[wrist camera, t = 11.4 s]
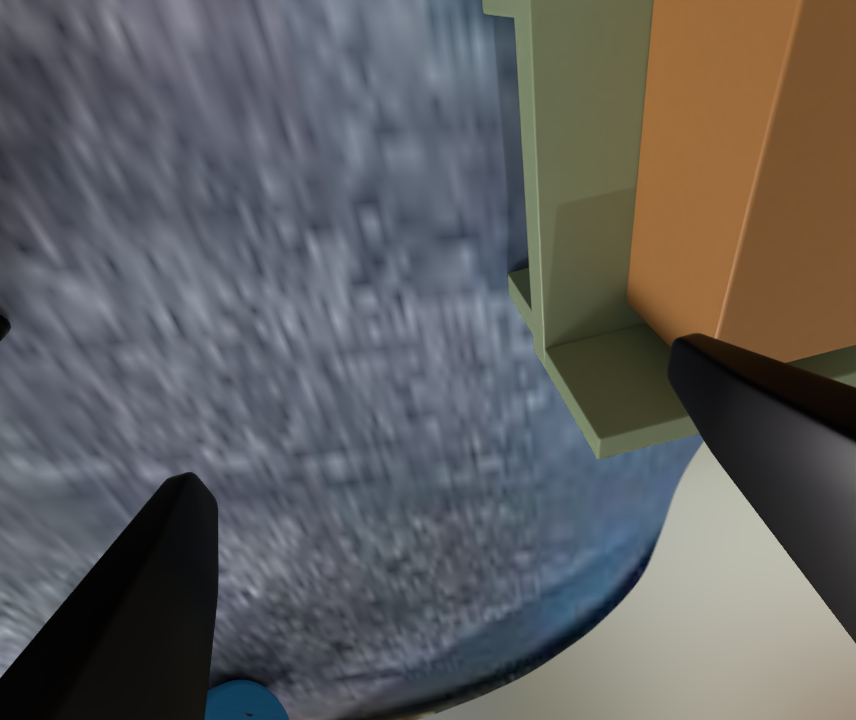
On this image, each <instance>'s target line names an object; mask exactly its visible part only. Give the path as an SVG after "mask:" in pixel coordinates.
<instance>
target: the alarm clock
mask: <svg viewBox="0 0 856 720" xmlns="http://www.w3.org/2000/svg"><path fill="white" fill-rule="evenodd" d="M205 720H289V717H288V715H287V713H286V711H285V709H284V708H283V706H282V705H281V703H280V702H279V700H278V699H277V698H276V697H275V696H274V694H272V693H271V692H270V691H269V690H268V689H267V688H265V687H264V686H262V685H260V684H258V683H256V682H253V681H249V680H233V681H229V682H226V683H223V684H221V685H219V686H216V687H214V688H212V689H210V690H208V693H207V702H206V711H205Z"/></svg>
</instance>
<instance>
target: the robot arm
mask: <svg viewBox="0 0 856 720" xmlns="http://www.w3.org/2000/svg"><path fill="white" fill-rule="evenodd" d="M10 328H11V326H10V323H9V322H8V320H7V319H6V318H4V317H3V316H2V315H0V341H1V340H2V339H3V338H4V337H5V335H6V334H7V333H8V332H9V331H10ZM667 376H668V380H669V382H670V384H671V386H672V388H673V389H674V391H675V393H676V395H677V396H678V398H679V400H680V401H681V403H682V405H683V406H684V408H685V410H686V411H687V413H688V415H689V416H690V418H691V420H692V421H693V423H694V425H695V426H696V428H697V430H698V431H699V433H700V435H701V436H702V438H703V440H704V441H705V443H706V444H707V446H708V448H709V449H710V450H711V452H712V454H713V455H714V456H715V458H716V459H717V460H718V462H719V463H720V464H721V466H722V467H723V468H724V470H725V471H726V472H727V474H728V475H729V476H730V478H731V479H732V480H733V482H734V483H735V484H736V486H737V487H738V488H739V490H740V491H741V492H742V493H743V495H744V496H745V497H746V499H747V500H748V501H749V503H750V504H751V505H752V507H753V508H754V509H755V511H756V512H757V513H758V515H759V516H760V517H761V519H762V520H763V521H764V523H765V524H766V525H767V527H768V528H769V529H770V530H771V532H772V533H773V535H775V537H776V538H777V540H778V541H779V542H780V544H781V545H782V546H783V548H784V549H785V550H786V551H787V553H788V554H789V556H790V557H791V558H792V560H793V561H794V562H795V564H796V565H797V566H798V568H799V569H800V570H801V572H802V573H803V574H804V575H805V577H806V578H807V579H808V581H809V582H810V583H811V585H812V586H813V587H814V589H815V590H816V591H817V593H818V594H819V595H820V596H821V598H822V599H823V600H824V602H825V603H826V605H827V606H828V607H829V609H830V610H831V611H832V613H833V614H834V615H835V617H836V618H837V619H838V620H839V622H840V623H841V624H842V626H843V627H844V628H845V630H846V631H847V632H848V634H849V635H850V636H851V637H852V639H853V640H854V642H855V643H856V387H853V386H850V385H847V384H845V383H842V382H839V381H836V380H833V379H830V378H827V377H824V376H822V375H819V374H816V373H813V372H810V371H807V370H804V369H801V368H799V367H796V366H793V365H790V364H787V363H784V362H781V361H779V360H776V359H773V358H770V357H767V356H764V355H761V354H758V353H756V352H753V351H750V350H747V349H744V348H741V347H738V346H735V345H733V344H730V343H727V342H724V341H721V340H718V339H715V338H712V337H710V336H707V335H704V334H701V333H692V334H688V335H685V336H681V337H678V338H676V339H675V340H674V341H673V342H672V346H671V351H670V357H669V363H668V369H667ZM218 577H219V572H218V505H217V502H216V499H215V497H214V496H213V495H212V493H211V492H210V491H209V490H208V488H207V487H206V486H205V485H204V484H203V482H202V481H201V480H200V479H199V478H198V476H197V475H196V474H194V473H192V472H187V473H183V474H180V475H176V476H172V477H170V478H168V479H167V480H166V481H165V482H164V483H163V484H162V485H161V486H160V487H159V489H158V490H157V491H156V492H155V493H154V495H153V496H152V497H151V498H150V499H149V501H148V502H147V503H146V504H145V505H144V507H143V508H142V509H141V510H140V511H139V513H138V514H137V515H136V516H135V517H134V519H133V520H132V521H131V522H130V523H129V525H128V526H127V527H126V528H125V529H124V531H123V532H122V533H121V534H120V535H119V537H118V538H117V539H116V540H115V541H114V543H113V544H112V545H111V546H110V547H109V549H108V550H107V551H106V552H105V553H104V555H103V556H102V557H101V558H100V559H99V561H98V562H97V563H96V564H95V565H94V567H93V568H92V569H91V570H90V571H89V573H88V574H87V575H86V576H85V577H84V579H83V580H82V581H81V582H80V583H79V585H78V586H77V587H76V588H75V589H74V590H73V592H72V593H71V594H70V595H69V596H68V598H67V599H66V600H65V601H64V602H63V604H62V605H61V606H60V607H59V608H58V610H57V611H56V612H55V613H54V614H53V616H52V617H51V618H50V619H49V620H48V622H47V623H46V624H45V625H44V626H43V628H42V629H41V630H40V631H39V632H38V634H37V635H36V636H35V637H34V638H33V640H32V641H31V642H30V643H29V644H28V646H27V647H26V648H25V649H24V650H23V652H22V653H21V654H20V655H19V656H18V658H17V659H16V660H15V661H14V662H13V664H12V665H11V666H10V667H9V668H8V670H7V671H6V672H5V673H4V674H3V675H2V677H1V678H0V720H205V711H206V702H207V693H208V683H209V674H210V665H211V655H212V646H213V637H214V627H215V618H216V609H217V598H218Z"/></svg>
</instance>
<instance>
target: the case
mask: <svg viewBox="0 0 856 720" xmlns="http://www.w3.org/2000/svg"><path fill="white" fill-rule="evenodd" d="M626 301H627V303H628V304H629V305H630V306H631V307H632V308H633V309H634V310H635V311H636V312H637V313H638V314H639V315H640V316H641V317H642V318H643V319H644V321H645V322H646V323H647V324H648V325H649V326H650V327H651V328H652V329H653V330H654V331H655V332H656V333H657V334H658V335H659V336H660V337H661V338H662V339H663V340H664V341H665V342H666V343H667V344H668V345H669V346H670V347H671V346H672V342H673V341H674V340H675V339H676V338H678V337H681V336H685V335H688V334H692V333H701V334H704V335H707V336H710V337H712V338H715V339H718V340H721V341H724V342H727V343H730V344H733V345H735V346H738V347H741V348H744V349H747V350H750V351H753V352H756V353H758V354H761V355H764V356H767V357H770V358H773V359H776V360H779V361H781V362H784V363H786V362H790V361H794V360H798V359H802V358H806V357H810V356H813V355H817V354H821V353H825V352H829V351H833V350H837V349H840V348H844V347H848V346H852V345H856V0H654V2H653V13H652V24H651V35H650V46H649V57H648V68H647V79H646V90H645V101H644V112H643V123H642V134H641V145H640V156H639V167H638V178H637V189H636V200H635V211H634V222H633V233H632V244H631V255H630V266H629V277H628V288H627V299H626Z"/></svg>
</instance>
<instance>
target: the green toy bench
mask: <svg viewBox="0 0 856 720" xmlns="http://www.w3.org/2000/svg"><path fill="white" fill-rule="evenodd" d="M653 2H654V0H482V5H483V12H484V14H488V15H496V16H504V17H512V18H514V21H515V37H516V54H517V71H518V88H519V104H520V121H521V138H522V154H523V171H524V188H525V205H526V221H527V238H528V255H529V268H525V269H522V270H518V271H514V272H510V273H508V285H509V295H510V297H511V299H512V300H513V302H514V304H515V305H516V307H517V309H518V310H519V312H520V314H521V315H522V317H523V319H524V320H525V322H526V324H527V325H528V327H529V329H530V330H531V332H532V334H533V338H534V350H535V352H536V354H537V356H538V357H539V359H540V361H541V362H542V364H543V366H544V368H545V369H546V371H547V372H548V374H549V376H550V378H551V379H552V381H553V383H554V385H555V386H556V388H557V390H558V391H559V393H560V395H561V397H562V398H563V400H564V402H565V404H566V405H567V407H568V409H569V410H570V412H571V414H572V416H573V417H574V419H575V421H576V423H577V424H578V426H579V428H580V429H581V431H582V433H583V435H584V436H585V438H586V440H587V442H588V443H589V445H590V447H591V448H592V450H593V452H594V454H595V455H596V457H597V458H598V459H603V458H607V457H610V456H614V455H618V454H622V453H626V452H630V451H633V450H637V449H641V448H645V447H649V446H653V445H657V444H660V443H664V442H668V441H672V440H676V439H680V438H683V437H687V436H691V435H695V434H699V431H698V430H697V428H696V426H695V425H694V423H693V421H692V420H691V418H690V416H689V415H688V413H687V411H686V410H685V408H684V406H683V405H682V403H681V401H680V400H679V398H678V396H677V395H676V393H675V391H674V389H673V388H672V386H671V384H670V382H669V380H668V376H667V369H668V363H669V357H670V351H671V347H670V346H669V345H668V344H667V343H666V342H665V341H664V340H663V339H662V338H661V337H660V336H659V335H658V334H657V333H656V332H655V331H654V330H653V329H652V328H651V327H650V326H649V325H648V324H647V323H646V322H645V321H644V319H643V318H642V317H641V316H640V315H639V314H638V313H637V312H636V311H635V310H634V309H633V308H632V307H631V306H630V305H629V304H628V303H627V301H626V299H627V288H628V277H629V266H630V255H631V244H632V233H633V222H634V211H635V200H636V189H637V178H638V167H639V156H640V145H641V134H642V123H643V112H644V101H645V90H646V79H647V68H648V57H649V46H650V35H651V24H652V13H653ZM786 363H787V364H790V365H793V366H796V367H799V368H801V369H804V370H807V371H810V372H813V373H816V374H819V375H822V376H824V377H827V378H830V379H833V380H836V381H839V382H842V383H845V384H847V385H850V386H853V387H856V345H852V346H848V347H844V348H840V349H837V350H833V351H829V352H825V353H821V354H817V355H813V356H810V357H806V358H802V359H798V360H794V361H790V362H786Z"/></svg>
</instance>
